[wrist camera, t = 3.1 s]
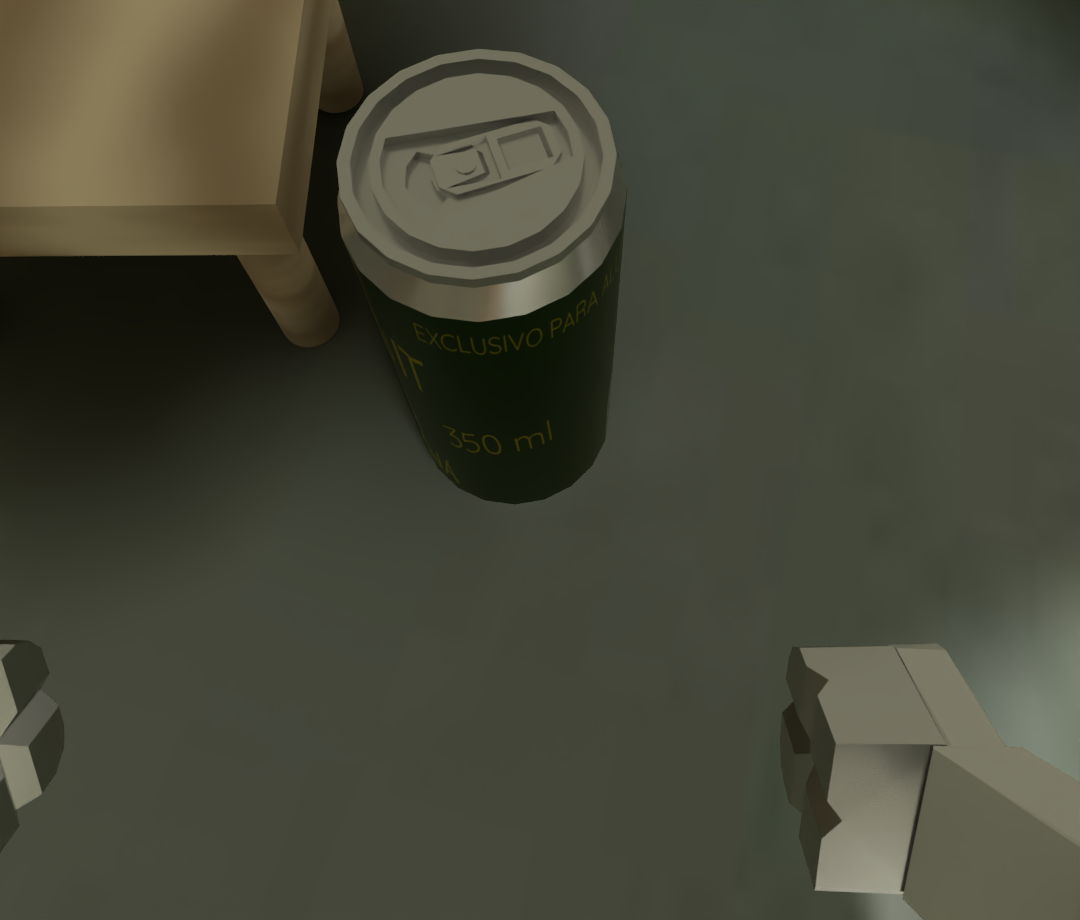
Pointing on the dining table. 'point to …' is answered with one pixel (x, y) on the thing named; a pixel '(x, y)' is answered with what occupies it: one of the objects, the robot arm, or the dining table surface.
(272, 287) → the footstool
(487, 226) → the beer can
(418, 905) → the dining table surface
